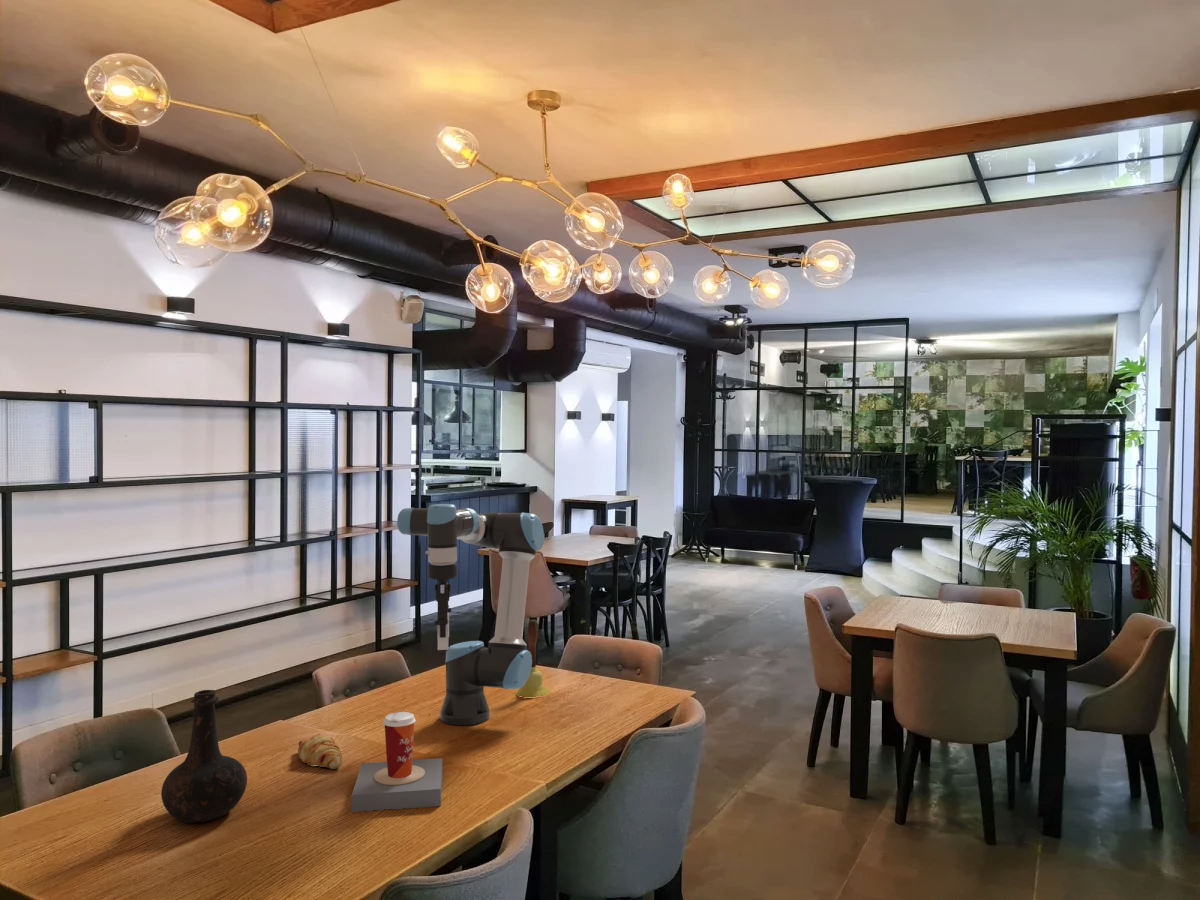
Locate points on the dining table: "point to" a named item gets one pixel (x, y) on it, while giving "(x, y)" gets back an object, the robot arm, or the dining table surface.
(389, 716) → the paper cup
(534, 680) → the handbell
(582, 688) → the dining table surface
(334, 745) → the croissant
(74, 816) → the dining table surface
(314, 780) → the dining table surface
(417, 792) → the plinth
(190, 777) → the glass bottle
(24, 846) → the dining table surface
